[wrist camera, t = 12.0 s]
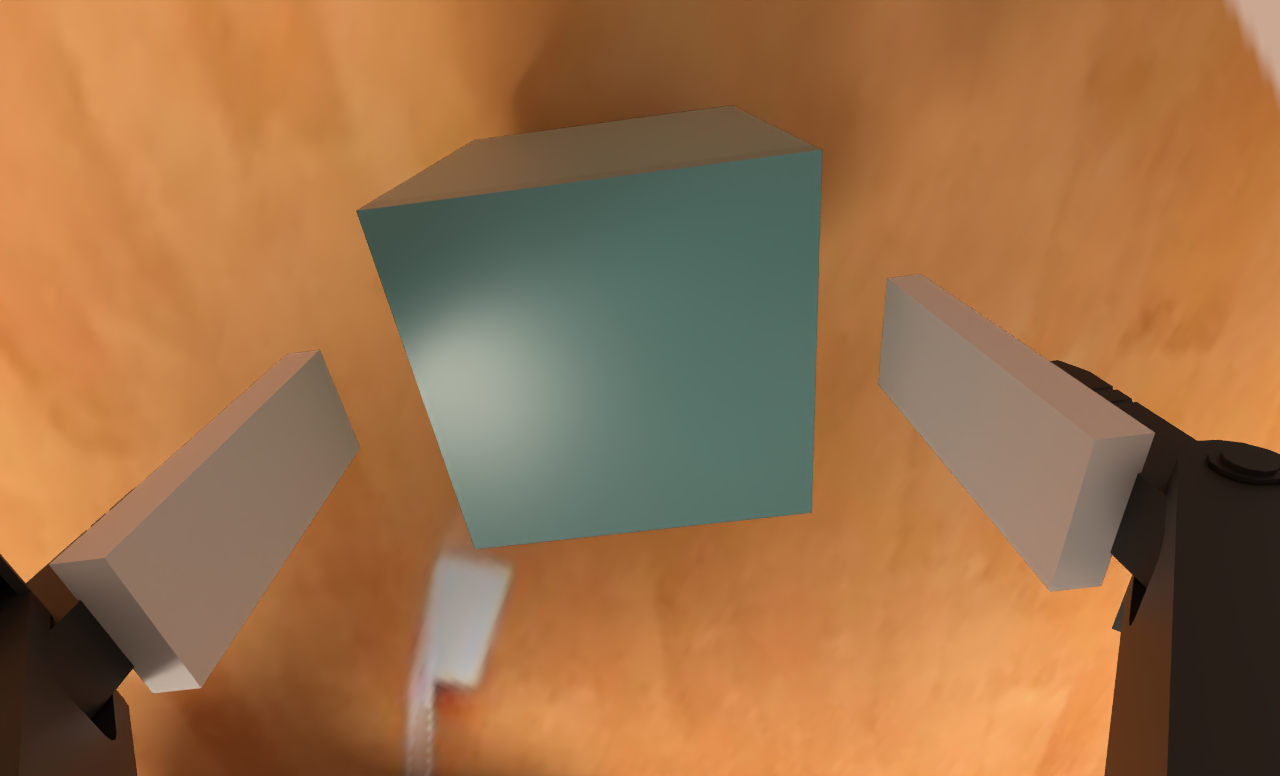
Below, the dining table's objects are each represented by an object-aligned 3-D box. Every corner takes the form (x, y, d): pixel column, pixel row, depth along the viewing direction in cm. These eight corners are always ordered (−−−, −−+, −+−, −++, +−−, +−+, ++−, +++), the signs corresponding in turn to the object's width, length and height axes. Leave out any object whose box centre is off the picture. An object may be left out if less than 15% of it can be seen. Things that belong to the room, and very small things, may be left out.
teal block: (528, 367, 23) (475, 549, 15) (473, 139, 19) (356, 210, 11) (741, 341, 23) (811, 512, 14) (732, 105, 19) (822, 149, 10)
